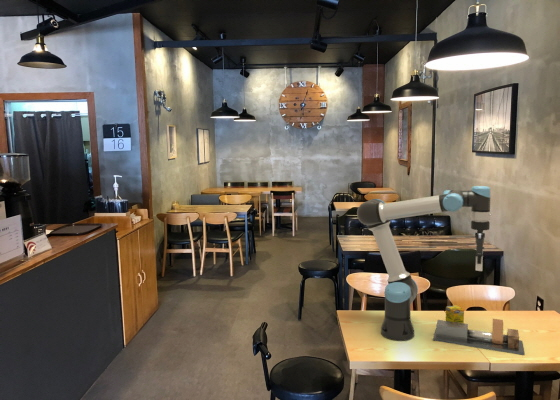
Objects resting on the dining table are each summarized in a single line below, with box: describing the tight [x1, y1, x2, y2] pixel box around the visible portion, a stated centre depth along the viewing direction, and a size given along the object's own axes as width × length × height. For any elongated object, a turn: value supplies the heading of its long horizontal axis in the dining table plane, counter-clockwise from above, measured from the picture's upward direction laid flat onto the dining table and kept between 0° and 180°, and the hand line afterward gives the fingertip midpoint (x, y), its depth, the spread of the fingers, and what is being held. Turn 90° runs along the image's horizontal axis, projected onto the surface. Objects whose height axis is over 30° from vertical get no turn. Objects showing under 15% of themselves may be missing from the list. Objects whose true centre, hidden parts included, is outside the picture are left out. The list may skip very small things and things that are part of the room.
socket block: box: [506, 328, 520, 349], centre depth 182 cm, size 4×8×6 cm, turn 154°
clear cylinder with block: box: [467, 318, 508, 345], centre depth 186 cm, size 20×4×10 cm, turn 64°
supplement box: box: [445, 304, 465, 323], centre depth 201 cm, size 6×6×11 cm
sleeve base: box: [432, 319, 525, 356], centre depth 188 cm, size 36×12×6 cm, turn 64°
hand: (479, 266), depth 191 cm, fingers open, 13 cm apart
